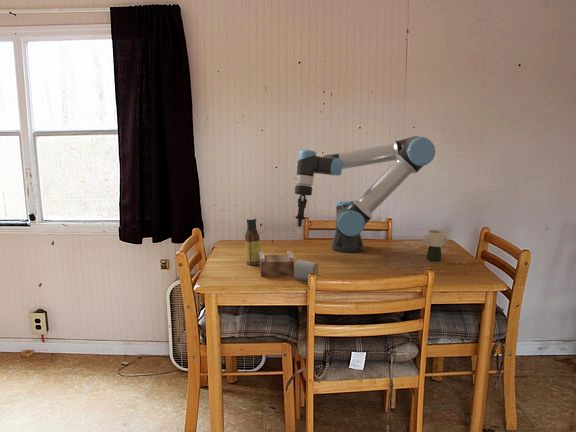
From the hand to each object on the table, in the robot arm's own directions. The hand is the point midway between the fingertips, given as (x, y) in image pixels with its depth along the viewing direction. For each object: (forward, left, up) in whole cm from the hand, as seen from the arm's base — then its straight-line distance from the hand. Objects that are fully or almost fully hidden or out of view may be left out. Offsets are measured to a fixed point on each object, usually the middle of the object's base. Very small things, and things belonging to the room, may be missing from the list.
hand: (298, 234), depth 213 cm
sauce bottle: (+20, +4, -12) cm, 24 cm away
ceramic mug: (0, +26, -12) cm, 28 cm away
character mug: (-60, +6, -12) cm, 61 cm away
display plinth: (+11, +17, -12) cm, 24 cm away
